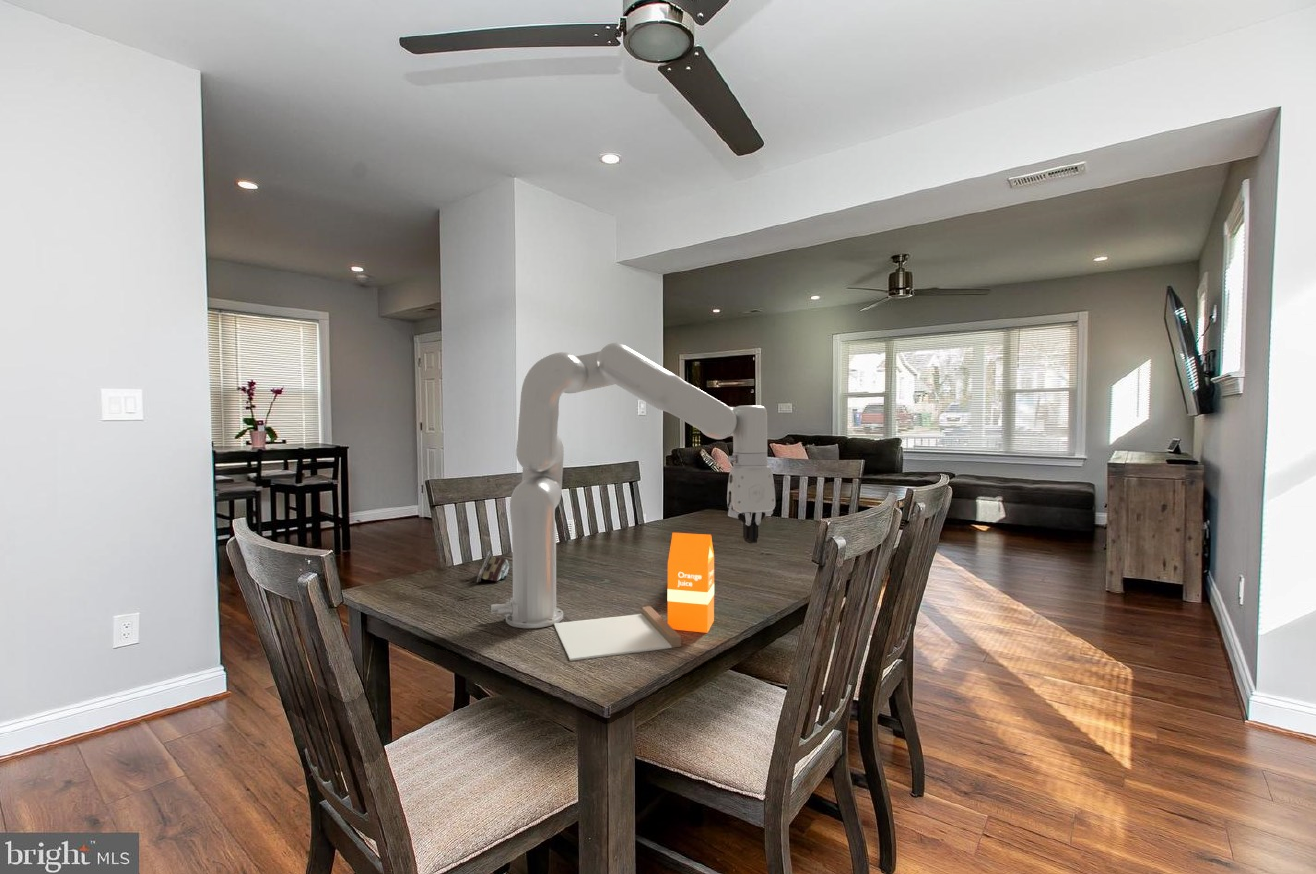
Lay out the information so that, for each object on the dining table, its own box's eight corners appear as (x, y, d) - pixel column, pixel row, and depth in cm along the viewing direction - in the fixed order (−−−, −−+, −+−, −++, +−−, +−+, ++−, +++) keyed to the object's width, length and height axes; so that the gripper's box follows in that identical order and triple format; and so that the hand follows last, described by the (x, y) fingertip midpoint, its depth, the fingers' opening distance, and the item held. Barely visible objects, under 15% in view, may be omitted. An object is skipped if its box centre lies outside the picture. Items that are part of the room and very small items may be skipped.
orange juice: (707, 633, 125) (708, 538, 125) (667, 628, 128) (667, 536, 127) (714, 620, 133) (714, 531, 132) (675, 617, 135) (676, 529, 135)
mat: (570, 660, 111) (570, 650, 111) (553, 625, 130) (553, 616, 130) (681, 646, 118) (681, 636, 118) (650, 614, 137) (650, 606, 137)
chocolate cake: (502, 584, 159) (515, 548, 168) (476, 578, 158) (490, 542, 167) (499, 602, 165) (511, 566, 174) (473, 596, 165) (487, 560, 173)
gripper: (726, 462, 127) (727, 548, 128) (788, 460, 132) (788, 542, 133) (712, 460, 135) (713, 541, 135) (771, 458, 139) (771, 536, 140)
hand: (750, 541), depth 134 cm, fingers closed
